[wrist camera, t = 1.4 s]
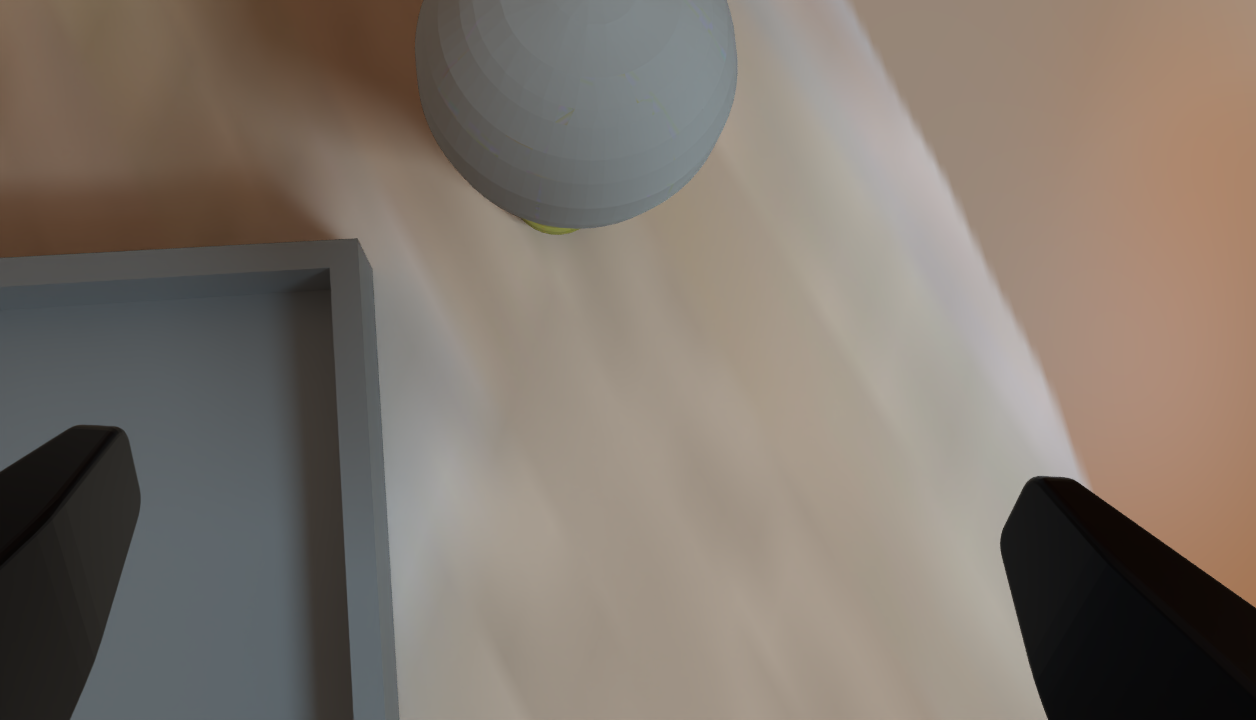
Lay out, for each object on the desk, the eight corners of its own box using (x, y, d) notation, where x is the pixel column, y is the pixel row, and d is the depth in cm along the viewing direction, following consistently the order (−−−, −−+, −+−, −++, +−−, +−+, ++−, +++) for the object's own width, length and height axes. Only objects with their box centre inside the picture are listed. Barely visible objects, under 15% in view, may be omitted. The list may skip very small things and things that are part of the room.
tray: (407, 860, 21) (396, 905, 18) (-282, 964, 19) (-398, 1032, 16) (372, 268, 23) (357, 238, 20) (-256, 305, 21) (-356, 277, 18)
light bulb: (428, 106, 23) (382, -188, 14) (645, 91, 24) (748, -196, 15) (452, 322, 23) (421, 174, 13) (675, 299, 24) (804, 143, 14)
